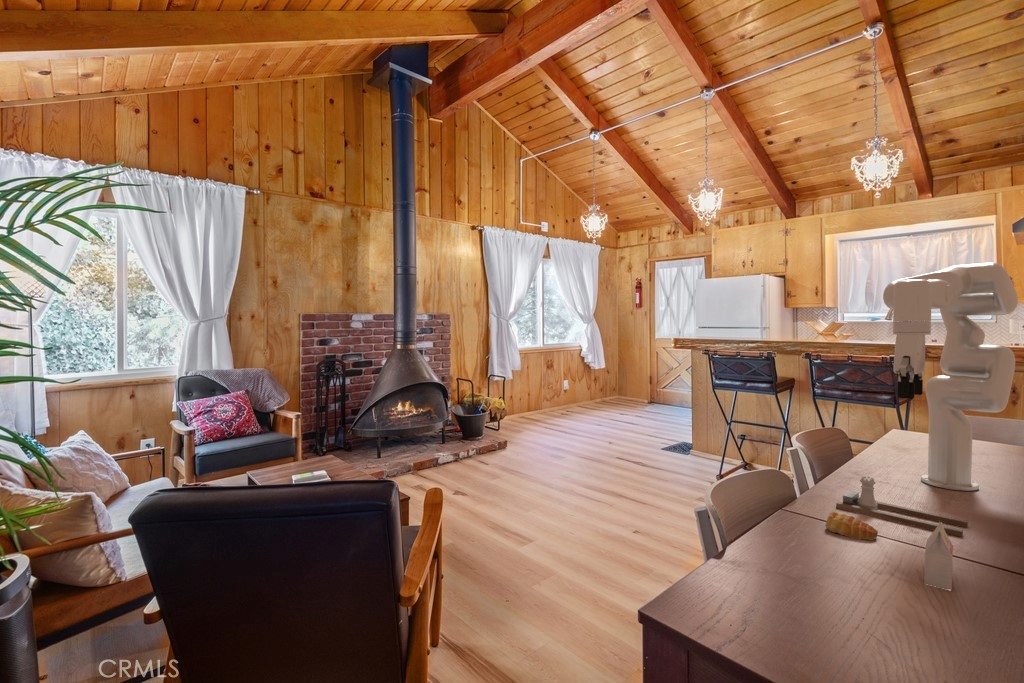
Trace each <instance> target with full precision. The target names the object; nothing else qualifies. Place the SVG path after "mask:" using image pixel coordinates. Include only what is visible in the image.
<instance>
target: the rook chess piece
mask: <svg viewBox="0 0 1024 683" xmlns="http://www.w3.org/2000/svg"><path fill="white" fill-rule="evenodd" d="M859 481H860V483H861V486H860V487H861V492H860V495H859V500H858V501H857V503H858V505H857V506H860V507H864V508H868V509H873V510H877V511H879V508H877V506H878V504H877V503H876V501H877V500H876V499H875V495H874V493H875V492H874V490H875V487H874V485H875V484H876V481H875V479H874V477H870V476H867V477H866V476H861V478H860V480H859Z"/></svg>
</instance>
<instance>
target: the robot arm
mask: <svg viewBox="0 0 1024 683" xmlns="http://www.w3.org/2000/svg"><path fill="white" fill-rule="evenodd" d="M882 300H883V303H884V305H885V306H886V307H887V308H889V309H891V310H892V311H893V312H892V321H893V322H892V335H896V336H895V342H894V343H895V344H894V353H893V356H894V357H893V369H892V370H893V373H895V374H898V378H897V379H898V380H897V398H898V399H909V400H913V399H915V395H918V396H921V395H923V394H924V393H923V389H924V388H923V387H924V384H923V382H924V379H923V372H924V371H925V365H926V336H927V335H928V336H929V335H932V332H931V331H932V310H937V309H939V312H940V315H941V316H940V317H941V319H942V321H943V324H944V326H945V329H946V330H945V331H946V335H945V340H944V344H943V348H942V351H941V355H940V360H939V367H940V370H941V371H942V372H943V373H944V374H940V375H938V374H937V375H935V376H932V377H930V378H929V379H928V380H927V381H926V383H925V389H924V390H925V397H926V401H927V408H928V409H927V410H928V445H927V446H928V452H927V456H928V457H927V474H926V473H925V474H922V475H921V476H920V480H921V481H922V482H923V483H925V484H927V485H930V486H933V487H937V488H942V489H946V490H954V491H964V492H966V491H967V492H968V491H969V492H970V491H977V490H978V489H979V486H980V485H979V483H977V482H976V481H974V480H972V467H973V466H972V463H973V432H974V431H973V430H974V429H973V425H972V424H973V423H972V421H971V420H970V419H969V417H968V416H967V415H966V414H965V413H964V412H963V411H971V412H972V411H973V412H980V413H994V414H995V413H1001V412H1003V411H1004V410H1005V409H1006V408H1007V406H1008V403H1009V401H1010V400H1009V399H1010V394H1011V389H1012V384H1013V380H1014V376H1015V369H1016V356H1015V353H1014V352H1013V350H1012V349H1011V348H1010V347H1009V346H1005V345H1001V344H1000V345H999V344H984V342H985V337H986V334H985V331H984V329H982V328H981V326H980V325H979V324H977V323H976V322H975V321H974V320H972V319H970V318H969V316H972V317H973V316H1006V315H1010V314H1012V313H1013V312H1014V311H1015V310H1016V309H1017V307H1018V304H1019V303H1018V301H1019V300H1018V292H1017V291H1016V288H1015V286H1014V284H1013V282H1012V279H1011V276H1010V275H1009V273H1008V271H1007V270H1006V268H1005V267H1004V266H1003V265H1001V264H999V263H997V262H983V263H969V264H967V263H966V264H956V265H951V266H949V267H948V266H947V267H945V268H943V269H940V270H938V271H934V272H929V273H923V274H919V275H913V276H910V277H904V278H900V279H895V280H894V281H892V282H889V283H888V284H887V286H886V287H885V288H884V290H883V294H882Z"/></svg>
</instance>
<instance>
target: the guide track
mask: <svg viewBox="0 0 1024 683" xmlns="http://www.w3.org/2000/svg"><path fill="white" fill-rule="evenodd" d="M876 503H877V504H878V506H877V508H878V509H882V510H885V511H881V510H873V509H868V508H864V507H860V506H855V505H851V504H846V503H843V501H842V502H841V501H837V502H836V503H835V504H836V508H837V509H839V510H844V509H845V511H848V510H849V511H848V512H852V513H853V512H854V513H857V514H862V515H867V516H870V517H875V518H879V519H883V520H888V521H891V522H895V523H900V524H904V525H908V526H912V527H913V526H914V527H915V528H916V527H917V528H921V529H925V530H930V531H933V532H934V530H935V529H936V527H937V526H938V524H939V523H934V522H939V521H940V523H941V522H942V524H943V523H944V524H948V525H953V526H958V527H963V528H968V526H969V520H966V519H961V518H957V517H952V516H947V515H944V514H943V515H942V514H938V513H934V512H933V513H932V512H929V511H924V510H919V509H914V508H911V507H907V506H901V505H897V504H893V503H892V504H891V503H886V502H881V501H878V500H876ZM886 511H891V512H894V513H899V515H898V514H894V513H890V512H886ZM900 514H904V515H908V516H913V517H917V518H922V519H926V520H931V521H934V522H929V521H925V520H921V519H916V518H911V517H908V516H904V515H900ZM944 524H943V527H944V530H945V532H946V534H947V535H952V536H955V537H959V536H960V537H959V538H962V537H963V536H964V529H961V528H957V527H952V526H947V525H944Z"/></svg>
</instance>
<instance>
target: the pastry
mask: <svg viewBox="0 0 1024 683" xmlns="http://www.w3.org/2000/svg"><path fill="white" fill-rule="evenodd" d="M825 522H826V523H825V528H826V529H827V530H828V531H830V532H831V531H832V532H831V533H835V534H836V533H837V534H839V535H841V536H843V535H845V536H844V537H848V538H852V537H854V538H853V539H857V538H860V539H859V540H862V539H864V541H867V540H868V541H873V540H875V539H876V538H878V533H879V532H878V530H877V529H876V528H874V527H873V526H871V525H869V523H866V522H864V521H863V520H860V519H858V518H855V517H854V516H853V515H848V514H845V513H841V514H840V513H837V512H834V511H832V512H830V513H829V514H828V516H827V519H826V521H825Z"/></svg>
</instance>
